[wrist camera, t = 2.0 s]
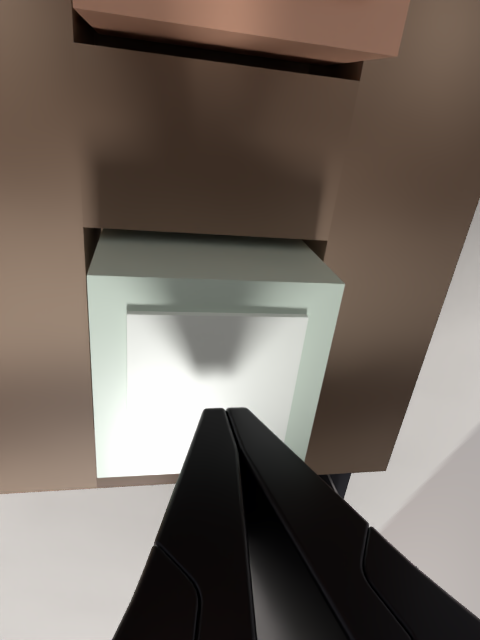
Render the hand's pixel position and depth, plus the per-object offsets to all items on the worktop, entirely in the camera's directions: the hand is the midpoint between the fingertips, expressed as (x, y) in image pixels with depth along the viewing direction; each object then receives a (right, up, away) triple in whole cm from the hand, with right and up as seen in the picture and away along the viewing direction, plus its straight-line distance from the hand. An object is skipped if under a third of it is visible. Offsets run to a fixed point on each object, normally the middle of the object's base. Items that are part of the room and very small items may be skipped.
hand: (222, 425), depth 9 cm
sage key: (-1, +2, +4) cm, 5 cm away
